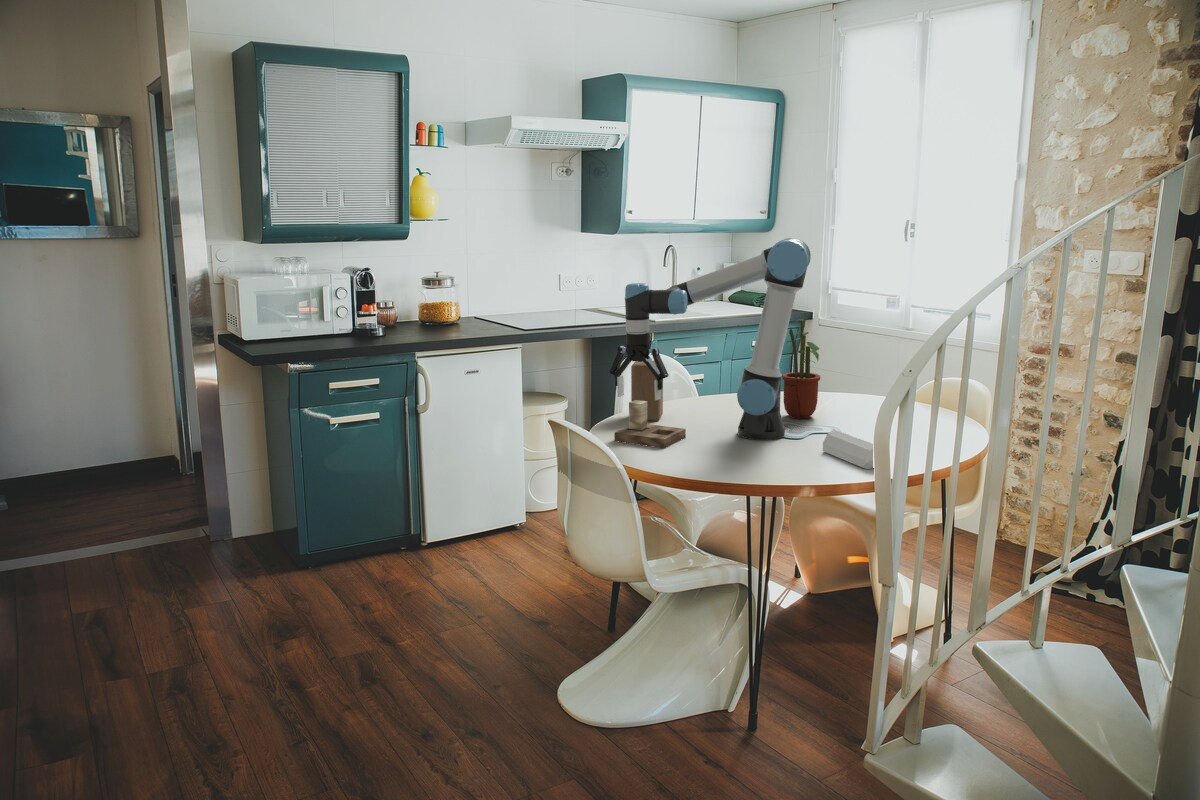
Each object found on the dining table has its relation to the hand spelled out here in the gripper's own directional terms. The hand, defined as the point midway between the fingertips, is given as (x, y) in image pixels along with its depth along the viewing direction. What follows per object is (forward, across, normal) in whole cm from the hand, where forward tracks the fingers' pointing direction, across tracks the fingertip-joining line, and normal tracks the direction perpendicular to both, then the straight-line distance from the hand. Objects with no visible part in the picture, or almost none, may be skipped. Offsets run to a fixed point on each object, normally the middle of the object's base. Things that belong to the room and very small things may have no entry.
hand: (639, 397), depth 300 cm
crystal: (+15, -67, -9) cm, 69 cm away
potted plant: (+14, -34, -55) cm, 66 cm away
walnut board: (+14, -4, 0) cm, 14 cm away
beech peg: (+13, +1, 0) cm, 13 cm away
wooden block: (+14, +11, -26) cm, 31 cm away
